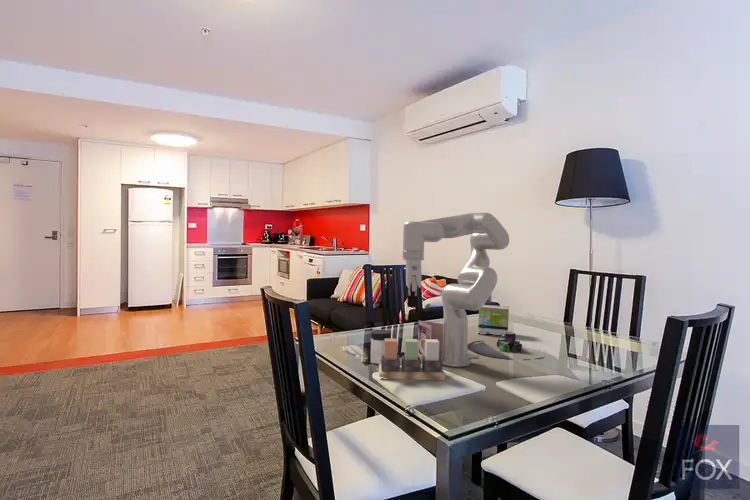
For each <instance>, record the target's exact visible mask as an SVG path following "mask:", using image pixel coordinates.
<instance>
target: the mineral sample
mask: <svg viewBox="0 0 750 500" xmlns="http://www.w3.org/2000/svg"><path fill="white" fill-rule="evenodd" d="M516 337H517V335H516V333H514V332H512V331H508V332H507V333H505V336H504V337H500V338H498V340H497V342H496V347H497V348H498V349H499V350H497V349H495V348H494V347H492V346H490V345H489V344H487V343H486V342H484V341H483V340H475V341H472V342H469V343H467V349H469V350H471V351H473V352H474V353H476V354H479V355H483V356H486V357H489V358H497V359H503V360H511V361H514V358H511V357H510V356H508V355H506V354H504V353H502V352H514V353H518V354H519V353H520V354H521V353H523V352H522V351H523V343H520V341H519V340H518V339H516ZM543 358H544V357H537V358H536V360H540V359H543ZM523 361H531V358H530V357H529V358H523Z"/></svg>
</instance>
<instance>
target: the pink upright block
mask: <svg viewBox="0 0 750 500" xmlns="http://www.w3.org/2000/svg"><path fill="white" fill-rule="evenodd" d="M397 356H398V339H397V338H391V339H387V338H385V342H384V360H397Z"/></svg>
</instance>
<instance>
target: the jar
mask: <svg viewBox="0 0 750 500" xmlns="http://www.w3.org/2000/svg"><path fill="white" fill-rule="evenodd" d="M385 338H387V339H392V331H390V330H387V329H373V330H371V331H370V364H374V363H375V365H379V364H381V355H384V342H385Z"/></svg>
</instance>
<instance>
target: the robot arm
mask: <svg viewBox="0 0 750 500" xmlns="http://www.w3.org/2000/svg"><path fill="white" fill-rule="evenodd" d="M402 235H403V240H402V260H404V261H405V285H406V287H407V308H417V306H418V305H417V304H418V303H417V302H418V295H417V292H418V291H417V290H418V288H419V289H421V288H422V261H424V259H425V243H438V242H440V241H441V240H442V239H456V238H459V237H463V236H468V235H470V237H469V238H470V239H469V243H470V251H471V252H470V253H471V254H470V256H469V259H468V260H467V262H466V263H465V265H464V266H463V267H462V269H461V270H460V271H459V274H458V275H457V283H449V284H446V285H445V286H444V287H443V289H442V291H441V304H442V307H443V308H442V309H443V310H442V311H443V356H442V357H440V358H441V360H442V366H445V367H454V368H463V367H468V366H470V365H472V363H471V362H472V361H471V360H480V354H479V353H476V354H475V352H474V353H469V351H468V347H467V346H468V331H469V330H468V329H469V328H468V326H469V325H468V324H469V319H468V315H467V312H466V311H473V312H474V311H475V312H477V311H479V309H481V308H482V307H483V305H486V302H487V301H488V299H489V297H490V296H491V294H492V293H493V291H494V290H495V288H496V286H497V283H498V273H497V272H496V270H495V269H494V268H493V267H490V263H491V261H490V257H489V256H488V253H487V250H496V251H498V250H499V251H500V250H504V249H506V248H508V246H509V244H510V236H509V232H508V231H507V229H505V227H504V226H503V225H502V223H501V222H500V221H499V220H498V219H497V218H496V217H495V216H494V214H491V213H490V212H469V213H464V214H459V215H458V214H457V215H453V216H452V215H451V216H446V217H440V218H434V219H428V220H427V219H426V220H421V221H406V222H404V224H403V234H402Z"/></svg>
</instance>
